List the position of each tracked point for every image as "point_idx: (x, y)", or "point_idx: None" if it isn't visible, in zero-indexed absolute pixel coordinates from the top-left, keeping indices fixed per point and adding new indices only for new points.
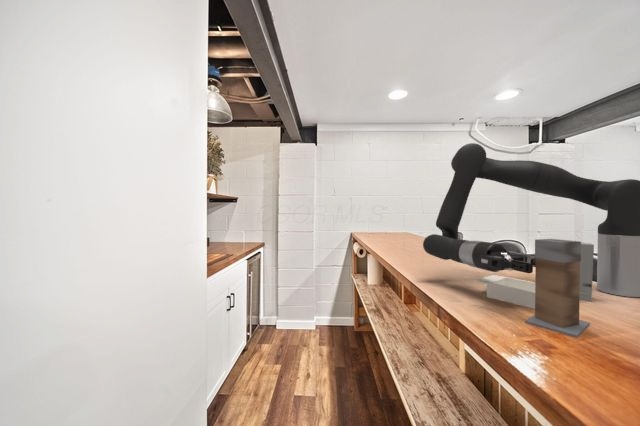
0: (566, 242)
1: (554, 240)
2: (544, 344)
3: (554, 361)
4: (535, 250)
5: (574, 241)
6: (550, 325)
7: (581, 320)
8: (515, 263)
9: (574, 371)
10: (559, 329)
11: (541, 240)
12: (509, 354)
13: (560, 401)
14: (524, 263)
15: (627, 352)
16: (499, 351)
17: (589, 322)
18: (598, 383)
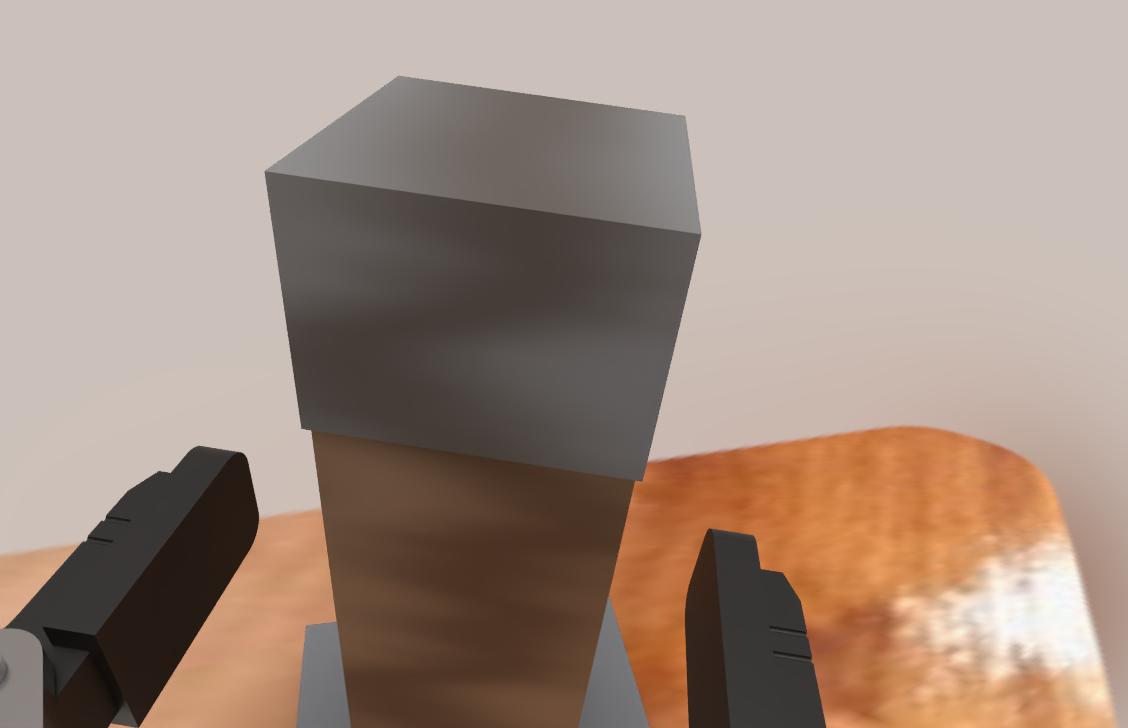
0: (629, 111)
1: (548, 147)
2: None
3: (896, 577)
4: (664, 388)
5: (452, 90)
6: (597, 712)
7: (305, 660)
8: (818, 703)
9: (879, 527)
10: (611, 659)
11: (692, 199)
12: (1066, 681)
13: (1054, 496)
14: (759, 594)
15: None
16: (1105, 717)
17: (308, 625)
18: (864, 481)
